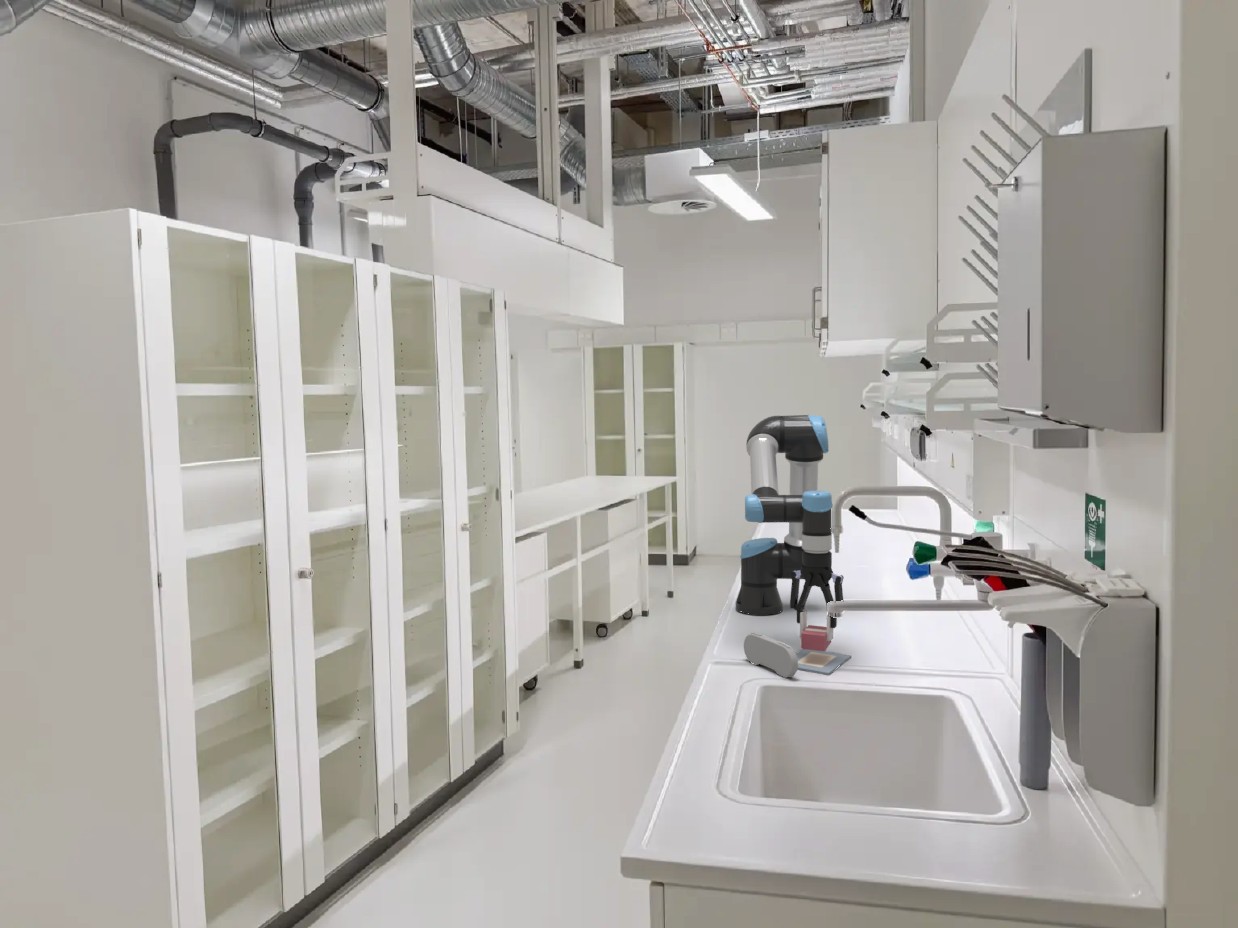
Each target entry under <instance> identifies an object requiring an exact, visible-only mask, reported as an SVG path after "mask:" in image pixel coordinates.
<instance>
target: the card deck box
mask: <svg viewBox="0 0 1238 928" xmlns="http://www.w3.org/2000/svg"><path fill="white" fill-rule="evenodd" d="M831 643H832V640H831V641H827V626H821V625H814V624H813V625H812V624H809V625H807V628H806V629H805V630H804V631H803V632H802V633H801V637H800V648H801V650H802V649H808V650H817V651H827V649H828V648H829V646H830V645H831Z"/></svg>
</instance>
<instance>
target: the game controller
mask: <svg viewBox="0 0 1238 928" xmlns="http://www.w3.org/2000/svg"><path fill="white" fill-rule="evenodd" d="M743 650H744V651H743V652H744V654H745V658H746V659H747V661H748V662H749V661H750V662H752V663H754V664H756V665H755V666H758V665H759V664H760V665H762V666H765V667H766V668H769V669H771V670H772V671H775V673H776V674H777V675H778V674H779V675H781V676H783V677H782V678H784V677H785V678H790V677H794V676H795V675H796V674H797V672H798V670H797V669H798V659H797V656H796V652H795V649H793V647H792V646H790V645H789V644H787V643H786V642H783V641H780V640H778V639H775V638H772V637H770V636H766V635H765V634H762V633H759V632H750V633H749V634H747V635H746V636H745V639H744V641H743ZM750 662H749V663H750ZM752 663H751V664H752ZM754 664H753V665H754ZM760 665H759V666H760ZM779 675H778V676H779ZM781 676H780V677H781Z"/></svg>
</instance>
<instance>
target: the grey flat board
mask: <svg viewBox="0 0 1238 928" xmlns="http://www.w3.org/2000/svg"><path fill="white" fill-rule="evenodd" d="M795 653H796V652H795ZM796 656H797V659H798V669H797V671H802V672H808V673H814V674H820V675H826V676H830V675H832V674H833V673H834V672H835V671H836V670H837V669H836V668H837V667H838V666H839V665H841V664H843V663H844V662H845V661H846V662H848V661H849V660H850V659H851V658H852V655H851V654H846V653H840V652H834V651H827V650H825V651H817V650H808V649H801V650H799V651H798V652H797V653H796ZM850 657H851V658H850ZM849 658H850V659H849ZM848 659H849V660H848ZM847 660H848V661H847ZM846 662H845V663H846ZM845 663H844V664H845ZM844 664H843V665H844ZM841 666H842V665H841ZM835 669H836V670H835ZM834 670H835V671H834ZM833 671H834V672H833Z"/></svg>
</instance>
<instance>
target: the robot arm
mask: <svg viewBox="0 0 1238 928" xmlns="http://www.w3.org/2000/svg"><path fill="white" fill-rule="evenodd" d="M745 448H746V452H747V454H748V456H749V460H750V461H749V462H750V465H749V466H750V487H751V488H750V489H751V490H750V491H751V494H747V495H745V497H744V519H745V520H746V522H749V523H760V524H763V523H765V524H767V523H788V533H787V534H785V536H784V539H783V542H778V540H777V539H776V538H774V537H760V538H753V539H750V540H746V541H745V542H743V543H742V544H741V547H740V548H741V549H740V557H739V558H740V588H739V591H738V594H737V597H736V601H735V611H737V612H738V611H742V612H744V613H749V614H748V615H750V614H757V615H756V616H769V614H773V615H776V614H775V613H778V612H780V611H782V612H783V602H782V599H781V596H780V593H779V590H778V589H779V588H778V580H779V579H780V580H791V589H790V597H789V608H790V609H792V610H795V611H796V622H797V624H799V637H800V638H801V633H802V632H803V631H804V630H805V629H806V628H807V626H808V625H807V624H808V623H807V620H808V618H807V617H808V616H807V614H808V613H807V612H808V611H807V610H806V608H805V607H806V603H807V601H808V598H809V595H810V593H811V589H812V588H813V587H817V588H819V589H820V590H821V592H822V594H823V599H824V600H825V603H826V604H825V605H827V603H828V602H830V601H834V602H836V601H841V600H843V601H844V593H843V582H844V576H843V575H842V574H840V575H839V574H836V573H834V571H833V569H832V561H833V560H832V559H833V558H832V557H833V556H832V555H833V554H832V552H831V550H832V546H833V545H832V544H833V541H832V540H833V539H832V538H833V536H832V535H833V534H832V533H833V532H832V528H831V508H832V509H833V501H832V500H833V498H832V496H833V495H832V494H831V492H829V491H826V490H818V480H819V477H818V476H819V475H818V474H819V463H821V462H822V461H823V460H824V454H828V453H829V439H828V430H827V424H826V421H825V419H824V417H822V416H820V415H810V414H801V415H795V414H794V415H793V414H792V415H772V416H771V415H770V416H768V417H766V418H763V419H762V420H761V421H759V422H757V424H755V426H754V427H753V428H752V429H751V430H750V431H749V434H748V435H747V438H746V447H745ZM777 454H785V456H784V458H785V460H786V462H789V494H779V483H778V480H779V479H778V471H777V469H778V468H777ZM830 528H831V529H830ZM831 532H832V533H831ZM831 579H832V582H833V583H834V584H833V585H834V586H833V587H834V598H835V600H834V598H833V594H832V590H831V586H830V580H831ZM801 580H804V583H803V589H802V592H801V594H800V597H799V593H800V584H801V583H800V581H801ZM744 613H743V614H744ZM780 613H781V612H780ZM778 614H779V613H778ZM837 619H838V618H833V617H831V616H829V614H827V616H826V627H827V641H831V642H832V640H834V629H835V628H837V625H838V620H837Z"/></svg>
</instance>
